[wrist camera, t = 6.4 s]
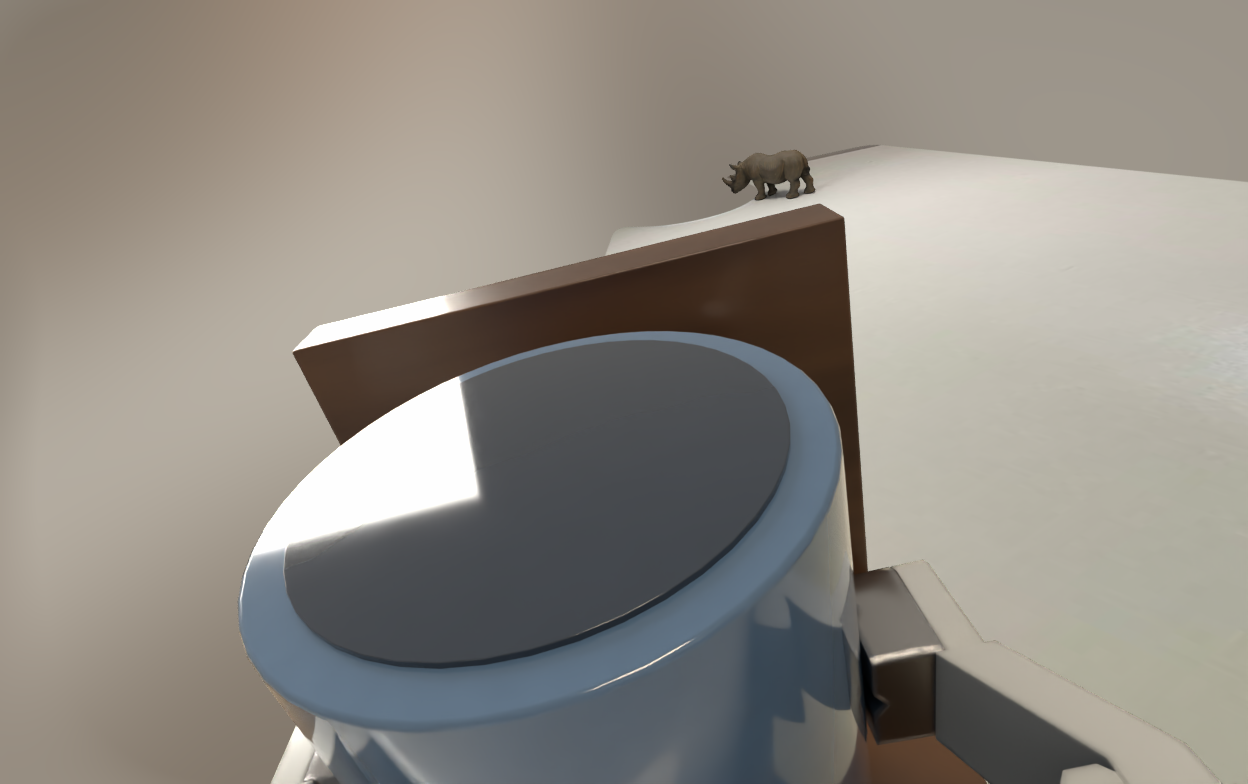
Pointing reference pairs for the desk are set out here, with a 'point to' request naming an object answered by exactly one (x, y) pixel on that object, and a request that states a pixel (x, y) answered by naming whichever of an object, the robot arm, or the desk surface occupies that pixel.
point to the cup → (575, 578)
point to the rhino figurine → (772, 173)
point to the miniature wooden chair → (635, 302)
